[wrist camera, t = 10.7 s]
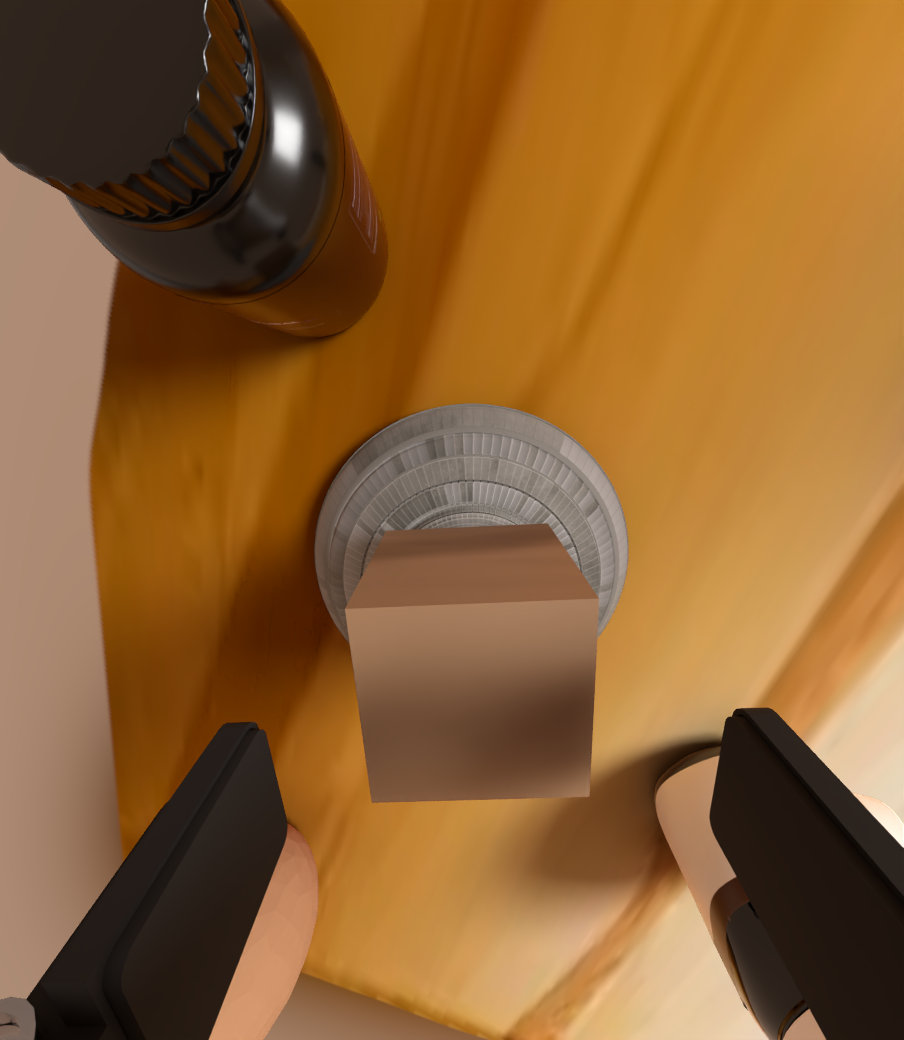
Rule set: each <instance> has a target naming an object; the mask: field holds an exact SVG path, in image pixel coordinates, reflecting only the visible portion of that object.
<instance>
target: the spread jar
mask: <svg viewBox="0 0 904 1040" xmlns="http://www.w3.org/2000/svg"><path fill="white" fill-rule="evenodd" d="M720 749H721V746H718V747H712V748H707V749H703V750H700V751H697V752H694V753H692V754H690V755H688V756H686V757H684V758H683V759H681V760H680V761H678V762H677V763H675V764H674V765H673V766H671V767H670V768H669V769H668V770H667V771H666V772H665V773H664V774H663V775H662V776H661V777H660V778H659V780H658V782H657V784H656V786H655V791H654V803H655V809H656V812H657V816H658V819H659V822H660V825H661V827H662V830H663V832H664V835H665V837H666V840H667V842H668V844H669V846H670V848H671V851H672V853H673V855H674V857H675V859H676V862H677V864H678V866H679V868H680V870H681V872H682V874H683V877H684V879H685V881H686V883H687V885H688V887H689V889H690V891H691V894H692V896H693V898H694V900H695V902H696V904H697V907H698V909H699V911H700V913H701V915H702V918H703V920H704V922H705V924H706V927H707V929H708V931H709V933H710V936H711V938H712V940H713V942H714V944H715V946H716V948H717V951H718V953H719V955H720V957H721V959H722V961H723V963H724V965H725V967H726V969H727V971H728V973H729V975H730V978H731V980H732V981H733V983H734V985H735V987H736V989H737V991H738V994H739V996H740V998H741V1000H742V1002H743V1005H744V1007H745V1008H746V1009H747V1010H748V1011H749V1012H750V1014H751V1016H752V1017H753V1019H754V1020H755V1022H756V1023H757V1025H758V1026H759V1028H760V1029H761V1030H762V1032H763V1033H764V1034H765V1036H766V1037H767V1038H768V1039H769V1040H826V1038H825V1037H824V1035H823V1033H822V1031H821V1029H820V1028H819V1026H818V1024H817V1022H816V1020H815V1018H814V1017H813V1015H812V1013H811V1011H810V1009H809V1008H808V1006H807V1004H806V1002H805V1000H804V998H803V997H802V995H801V993H800V991H799V989H798V988H797V986H796V984H795V982H794V980H793V978H792V977H791V975H790V973H789V971H788V969H787V968H786V966H785V964H784V962H783V960H782V958H781V957H780V955H779V953H778V951H777V949H776V948H775V946H774V944H773V942H772V940H771V939H770V937H769V935H768V933H767V931H766V929H765V928H764V926H763V924H762V922H761V920H760V919H759V917H758V915H757V913H756V911H755V909H754V908H753V906H752V904H751V902H750V900H749V899H748V897H747V895H746V893H745V891H744V889H743V888H742V886H741V884H740V882H739V880H738V879H737V877H736V875H735V873H734V871H733V869H732V868H731V866H730V864H729V862H728V860H727V859H726V857H725V855H724V853H723V851H722V849H721V848H720V846H719V844H718V842H717V840H716V838H715V836H714V834H713V832H712V829H711V825H710V819H709V813H710V808H711V802H712V796H713V790H714V784H715V778H716V773H717V767H718V761H719V755H720ZM852 794H853V795H854V796H855V797H856V798H857V799H858V800H859V801H860V802H861V803H862V804H863V805H864V806H865V807H866V808H867V809H868V811H869V812H870V813H871V814H872V815H873V816H874V817H875V818H876V819H877V820H878V821H879V822H880V823H881V824H882V825H883V826H884V828H885V829H886V830H887V831H888V832H889V833H890V834H891V835H892V836H893V837H894V838H895V839H896V840H897V841H898V842H899V843H900V845H901V846H902V847H903V848H904V824H903V823H902V821H901V820H900V819H899V817H898V816H897V815H896V814H895V813H894V812H893V811H892V809H891V808H889V807H888V806H887V805H886V804H884V803H883V802H882V801H879V800H877V799H875V798H871V797H867V796H863V795H859V794H855V793H852Z"/></svg>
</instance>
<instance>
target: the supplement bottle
mask: <svg viewBox="0 0 904 1040" xmlns="http://www.w3.org/2000/svg"><path fill="white" fill-rule="evenodd" d="M0 153H1V154H3V155H4V156H5V157H6V159H7V160H8V161H9V162H11V163H12V164H13V165H14V166H16V167H17V168H18V169H20V170H22V171H24V172H26V173H28V174H29V175H31V176H33V177H35V178H37V179H39V180H41V181H43V182H45V183H47V184H49V185H51V186H53V187H55V188H56V189H58V190H60V191H62V192H63V193H64V194H65V195H66V197H67V198H68V200H69V202H70V203H71V205H72V206H73V208H74V209H75V211H76V212H77V214H78V215H79V217H80V218H81V219H82V221H83V222H84V223H85V225H86V226H87V227H88V228H89V230H90V231H91V232H92V233H93V234H94V236H95V237H96V238H97V239H98V240H99V241H100V242H101V243H102V245H103V246H104V247H105V248H106V249H108V251H110V252H111V253H112V254H113V255H114V256H115V257H116V258H117V259H118V260H120V261H121V262H122V263H123V264H124V265H126V266H127V267H128V268H129V269H131V270H132V271H134V272H135V273H137V274H138V275H140V276H141V277H142V278H144V279H146V280H148V281H150V282H151V283H153V284H155V285H157V286H159V287H161V288H163V289H166V290H168V291H170V292H172V293H174V294H177V295H179V296H182V297H184V298H187V299H190V300H193V301H196V302H198V303H201V304H204V305H207V306H210V307H213V308H216V309H218V310H221V311H224V312H227V313H230V314H233V315H236V316H238V317H241V318H244V319H247V320H250V321H253V322H256V323H258V324H261V325H264V326H267V327H270V328H273V329H276V330H278V331H281V332H285V333H288V334H292V335H296V336H303V337H323V336H328V335H332V334H335V333H338V332H340V331H343V330H345V329H347V328H348V327H350V326H352V325H353V324H354V323H356V322H357V321H358V320H359V319H361V318H362V317H363V316H364V315H365V314H366V312H367V311H368V310H369V309H370V307H371V306H372V305H373V303H374V301H375V300H376V298H377V296H378V294H379V292H380V290H381V287H382V284H383V281H384V278H385V274H386V268H387V260H388V243H387V235H386V229H385V224H384V221H383V217H382V214H381V211H380V208H379V205H378V202H377V200H376V197H375V195H374V192H373V189H372V187H371V184H370V182H369V179H368V177H367V174H366V172H365V169H364V167H363V164H362V162H361V159H360V157H359V154H358V152H357V149H356V147H355V144H354V142H353V139H352V137H351V134H350V132H349V129H348V127H347V124H346V122H345V119H344V117H343V114H342V112H341V109H340V107H339V104H338V102H337V99H336V97H335V94H334V92H333V89H332V87H331V84H330V82H329V79H328V77H327V75H326V73H325V71H324V69H323V67H322V64H321V62H320V60H319V58H318V56H317V54H316V52H315V50H314V48H313V46H312V45H311V43H310V41H309V39H308V38H307V36H306V34H305V32H304V31H303V29H302V28H301V26H300V25H299V23H298V22H297V21H296V19H295V18H294V16H293V15H292V14H291V13H290V11H289V10H288V9H287V8H286V6H285V5H284V4H283V3H282V2H281V0H0Z"/></svg>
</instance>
